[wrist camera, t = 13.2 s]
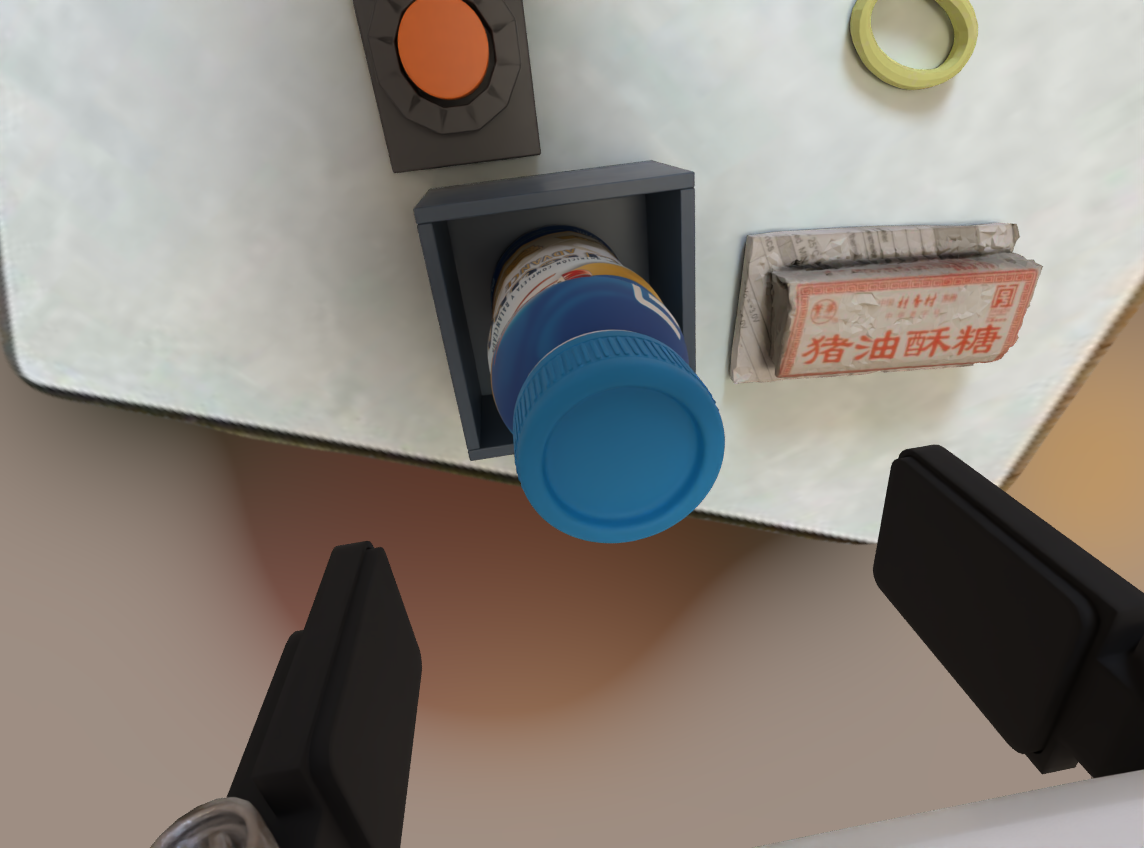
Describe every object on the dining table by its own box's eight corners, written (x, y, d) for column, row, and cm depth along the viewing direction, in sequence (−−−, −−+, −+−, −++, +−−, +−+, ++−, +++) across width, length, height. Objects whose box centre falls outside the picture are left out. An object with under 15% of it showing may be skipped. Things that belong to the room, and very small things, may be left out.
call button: (393, 5, 27) (387, -2, 25) (480, -4, 27) (480, -13, 25) (414, 104, 28) (409, 104, 27) (495, 94, 29) (495, 93, 27)
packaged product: (1071, 231, 34) (1014, 387, 38) (1006, 217, 38) (961, 360, 43) (775, 246, 32) (753, 408, 37) (741, 230, 36) (725, 377, 41)
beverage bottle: (525, 377, 38) (555, 603, 20) (462, 258, 34) (434, 409, 16) (644, 324, 37) (783, 508, 20) (595, 195, 33) (714, 281, 16)
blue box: (429, 188, 33) (412, 208, 26) (652, 160, 34) (695, 171, 27) (473, 400, 39) (470, 461, 32) (660, 371, 40) (696, 426, 33)
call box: (343, -57, 27) (327, -77, 25) (511, -75, 28) (514, -96, 25) (396, 171, 32) (388, 176, 29) (539, 153, 33) (543, 156, 30)
